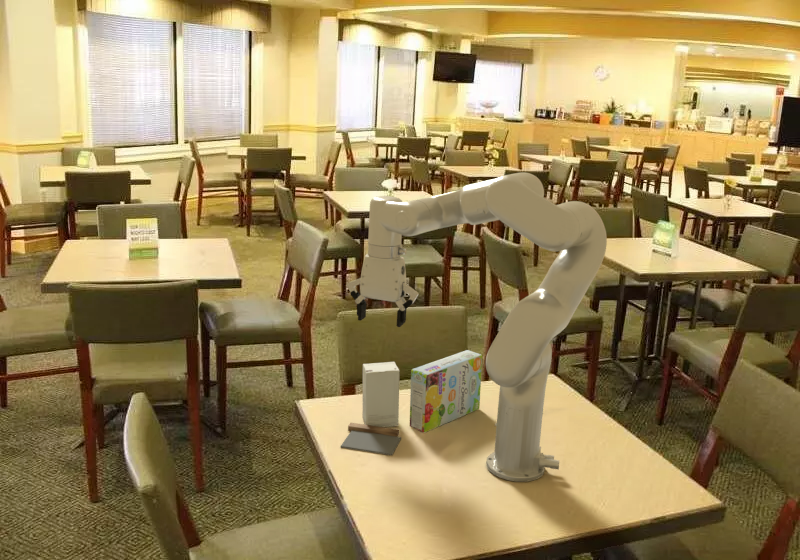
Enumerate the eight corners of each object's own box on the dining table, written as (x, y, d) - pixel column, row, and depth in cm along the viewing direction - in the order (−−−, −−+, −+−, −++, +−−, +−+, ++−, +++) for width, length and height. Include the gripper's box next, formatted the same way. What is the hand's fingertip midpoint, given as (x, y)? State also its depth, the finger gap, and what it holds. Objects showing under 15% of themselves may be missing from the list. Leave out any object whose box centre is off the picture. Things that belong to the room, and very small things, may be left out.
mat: (401, 438, 175) (401, 437, 175) (392, 455, 167) (392, 453, 167) (351, 431, 177) (351, 429, 177) (340, 447, 169) (340, 445, 169)
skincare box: (393, 416, 186) (396, 360, 182) (398, 427, 181) (401, 369, 177) (360, 418, 184) (362, 362, 181) (364, 429, 179) (366, 371, 175)
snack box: (463, 402, 196) (467, 348, 193) (480, 409, 193) (484, 354, 189) (407, 426, 182) (410, 367, 178) (424, 434, 178) (427, 374, 174)
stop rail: (399, 434, 177) (399, 429, 177) (397, 438, 175) (397, 433, 175) (350, 427, 180) (350, 422, 179) (348, 430, 178) (348, 425, 177)
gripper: (425, 252, 171) (420, 323, 176) (355, 243, 177) (353, 312, 181) (414, 259, 165) (410, 332, 169) (342, 249, 170) (340, 321, 175)
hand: (380, 322), depth 175 cm, fingers open, 9 cm apart
